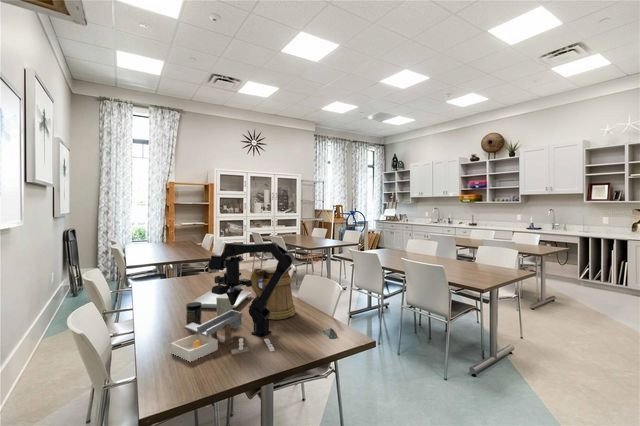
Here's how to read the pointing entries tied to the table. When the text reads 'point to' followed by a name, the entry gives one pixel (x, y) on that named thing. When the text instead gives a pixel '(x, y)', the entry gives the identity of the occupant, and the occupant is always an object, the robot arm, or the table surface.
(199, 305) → the supplement container
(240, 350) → the game pieces
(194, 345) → the ball
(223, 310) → the skincare box
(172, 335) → the table surface
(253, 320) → the robot arm
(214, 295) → the square plate
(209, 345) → the white open tray
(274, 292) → the tankard
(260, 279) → the walkman
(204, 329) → the tipping lever
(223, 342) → the pivot stand
